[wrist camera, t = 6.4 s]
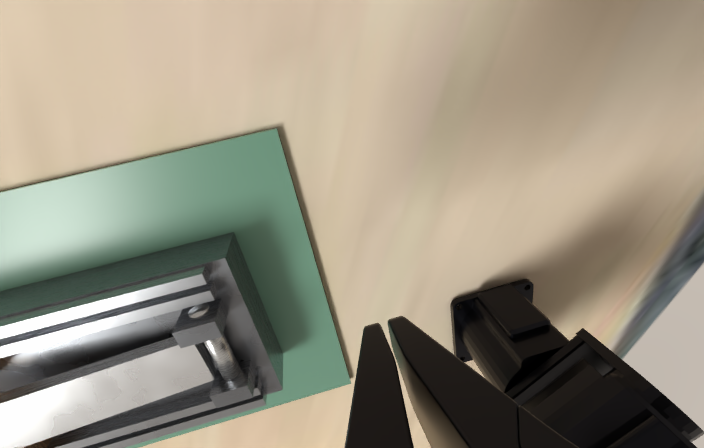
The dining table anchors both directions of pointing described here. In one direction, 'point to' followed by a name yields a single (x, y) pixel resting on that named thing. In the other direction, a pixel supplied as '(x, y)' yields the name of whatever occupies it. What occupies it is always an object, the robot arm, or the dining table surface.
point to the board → (187, 239)
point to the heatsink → (147, 335)
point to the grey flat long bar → (100, 391)
